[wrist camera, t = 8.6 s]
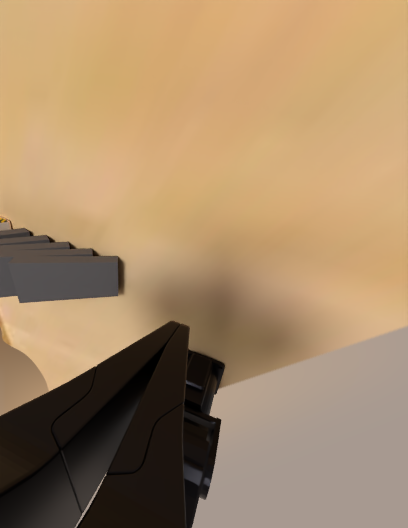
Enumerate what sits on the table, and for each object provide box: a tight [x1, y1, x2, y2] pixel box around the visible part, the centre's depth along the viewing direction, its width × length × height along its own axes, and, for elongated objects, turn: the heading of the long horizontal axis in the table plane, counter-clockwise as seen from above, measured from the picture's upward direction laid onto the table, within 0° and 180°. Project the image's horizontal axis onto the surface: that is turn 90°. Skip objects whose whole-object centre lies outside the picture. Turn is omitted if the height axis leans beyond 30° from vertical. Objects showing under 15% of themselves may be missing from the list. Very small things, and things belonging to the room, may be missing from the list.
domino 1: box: [0, 235, 50, 245], centre depth 24 cm, size 5×2×10 cm, turn 168°
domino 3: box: [0, 249, 93, 297], centre depth 24 cm, size 5×2×10 cm
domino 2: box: [0, 242, 70, 251], centre depth 24 cm, size 5×2×10 cm
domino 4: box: [8, 256, 118, 303], centre depth 23 cm, size 5×2×10 cm
